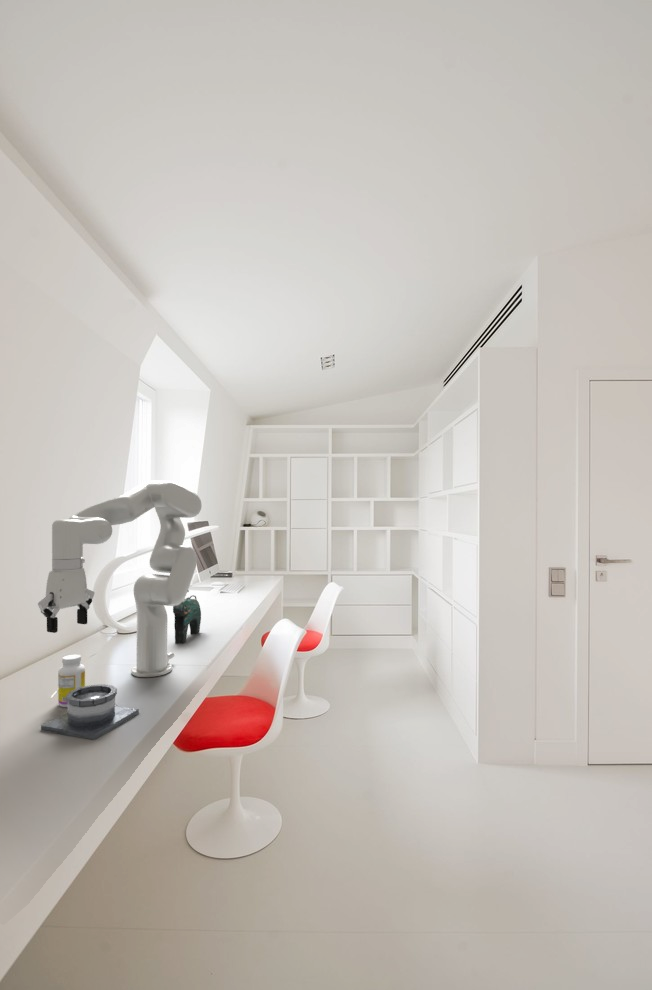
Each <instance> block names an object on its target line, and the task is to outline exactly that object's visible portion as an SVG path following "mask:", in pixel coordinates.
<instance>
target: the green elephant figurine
mask: <svg viewBox="0 0 652 990" xmlns="http://www.w3.org/2000/svg"><path fill="white" fill-rule="evenodd" d="M187 593H189V589H188V591H187ZM192 597H194V598H192ZM200 606H201V605H200V603H199V601H198V599H197V596H196V595H190V596H188V597H185V598H184V600H183V601H182V602H181V603H180V604H179V605H176V606H172V607H173V608H172V612H173V615H174V624H173V625H174V641H175V642H174V643H175V644H182V645H183V644H185V643H186V642H187V637H188V629H189V630H190V632H189V633H190V634H191V635H198V634H200V629H201V623H202V610H201V607H200Z"/></svg>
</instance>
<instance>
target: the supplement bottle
mask: <svg viewBox="0 0 652 990" xmlns="http://www.w3.org/2000/svg"><path fill="white" fill-rule="evenodd" d="M61 660H62V661H61V662H62V666H60V668H59V669H58V678H57V679H58V680H57V681H58V683H57V686H58V687H57V688H58V692H57V693H58V696H57V697H58V698H57V699H58V700H57V701H58V706H60V707H63V708H68V703H67V702H66V695H67V694H68V693H69V692H70V691H72V690H75V689H77V688H80V687H84V686H86V667H85V665H84V664H82V663H81V661H82V656H81V654H68V655H65V656H63V657H62V658H61Z"/></svg>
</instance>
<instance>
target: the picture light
mask: <svg viewBox="0 0 652 990" xmlns="http://www.w3.org/2000/svg"><path fill="white" fill-rule="evenodd" d="M57 693H58V687H57V688H56V690H55V691H54V692H53V694H52V695H51V696H50V698H51V699H53V698H54V697H55V695H56V694H57ZM50 698H49V699H50Z"/></svg>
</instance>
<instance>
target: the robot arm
mask: <svg viewBox="0 0 652 990" xmlns="http://www.w3.org/2000/svg"><path fill="white" fill-rule="evenodd" d="M153 508H154V509H155V512H156V514H157V517H158V520H159V525H160V529H159V534H158V536H157V539H156V542H155V544H154V547H153V549H152V552H151V555H150V559H149V567H150V568H151V569H152V570H153V571H155V572H157V573H163V574H156V573H155V574H154V573H149V574H143V575H141V576H139V577H138V578H137V579H136V581H135V582H134V584H133V585H134V586H133V596H134V602H135V606H136V607H135V608H136V665H135V666H133V667H132V668H131V675H133V676H134V677H137V678H138V677H139V678H154V677H160V676H164V675H167V674H169V673H170V672H171V671H172V669H173V665H172V664H170V663H169V660H172V659H173V658H174V657H175V654H174V652H169V653H168V613H167V610H166V608H165V606H169V607H170V606H171V607H173V606H176V605H179V604H180V603H181V602H182V601H183V600H184V598H185V599H186V597H187V593H188V590H189V588H190V585H191V582H192V579H193V576H194V573H195V570H196V568H197V563H198V560H197V553H196V551H195V549H194V548H192V546H189V545H185V544H183V543H184V541H185V537H186V529H185V526H184V525H183V522H182V520H181V519H182V518H186V519H188V518H195V517H197V515H199V514H200V513H201V510H202V501H201V498H200V496H199V495H198V494H196V493H195V492H194V491H192V490H191V489H189V488H187V487H184V486H182V485H180V484H178V483H176V482H174V481H171V480H147V481H144V482H142V483H139V485H136V486H135V487H133V488H132V489H130V490H128V491H126V492H125V493H122V494H121V495H119V496H118V497H113V498H112V499H108V500H106V501H104V502H100V503H98V504H97V503H96V504H94V505H92V506H89V507H87V508H84V509H82V510H80V511H79V512H76V513H75V514H73V515H71V516H70V517H68V518H63V519H56V520H54V521H53V522H52V524H51V570H50V571H49V572H48V575H47V580H46V587H45V589H46V590H45V596H44V597H43V598H42V599H41V600H40V601H38V603H37V607H38V608H39V610H40V613H41V614H42V615H43V616H44V617H45V618H46V632H47V633H53V634H57V633H58V631H59V629H58V627H59V626H58V625H59V624H58V617H57V615H58V613H59V612H60V610H63V609H67V608H71V607H75V606H77V607H78V608H77V610H76V623H77V625H78V624H80V625H88V610H89V609H90V605H92V602H93V598H94V595H95V591H93V590H91V589H89V588H88V586H87V585H88V584H87V576H86V571H85V568H84V567H83V566H84V563H86V561H85V558H84V557H83V556H84V547H83V546H84V545H87V544H88V545H99V544H104V543H106V542H107V541H108V540H109V539H110V538H111V536H112V535H113V527H112V526H117V525H124V524H127V523H129V522H133V521H135V520H137V518H139V517H141V516H142V515H144V514H146V513H147V512H149V511H150V510H152V509H153ZM165 573H166V574H167V575H166V574H165Z"/></svg>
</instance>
